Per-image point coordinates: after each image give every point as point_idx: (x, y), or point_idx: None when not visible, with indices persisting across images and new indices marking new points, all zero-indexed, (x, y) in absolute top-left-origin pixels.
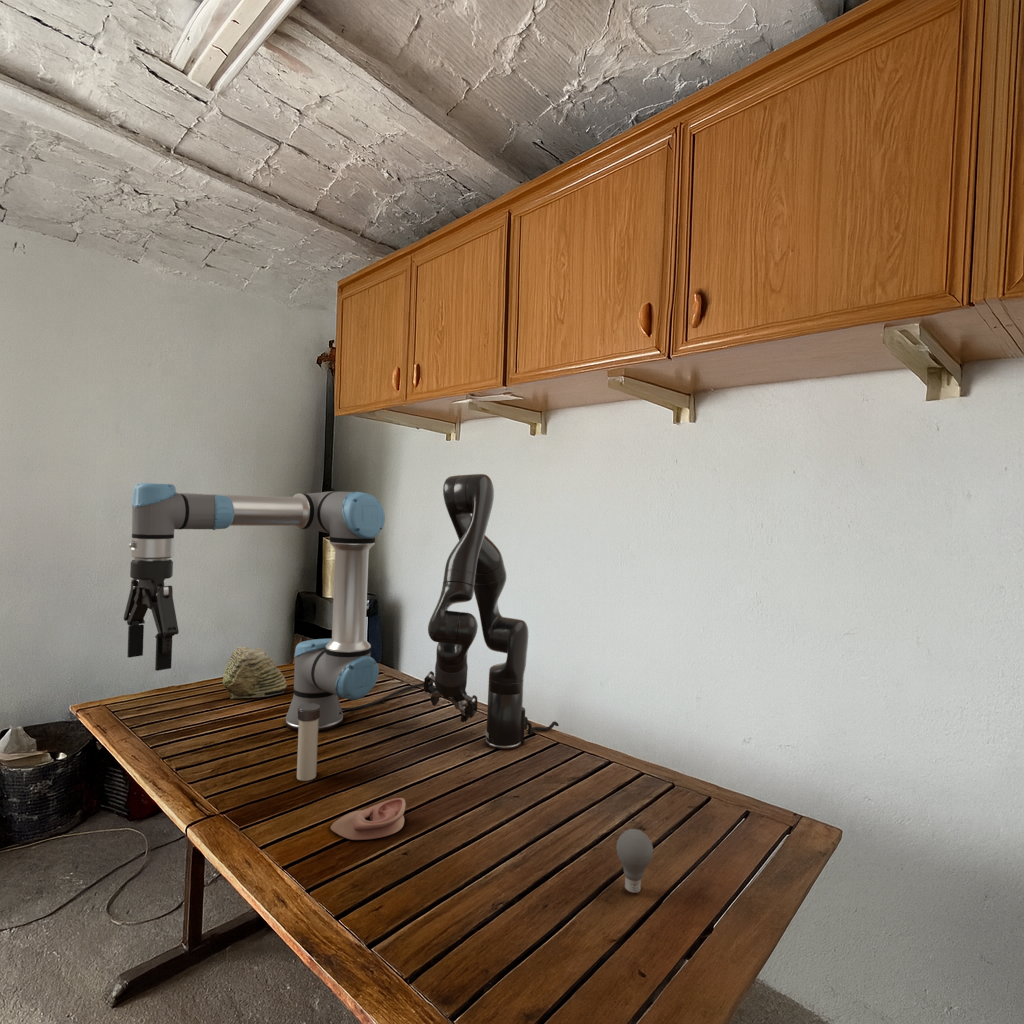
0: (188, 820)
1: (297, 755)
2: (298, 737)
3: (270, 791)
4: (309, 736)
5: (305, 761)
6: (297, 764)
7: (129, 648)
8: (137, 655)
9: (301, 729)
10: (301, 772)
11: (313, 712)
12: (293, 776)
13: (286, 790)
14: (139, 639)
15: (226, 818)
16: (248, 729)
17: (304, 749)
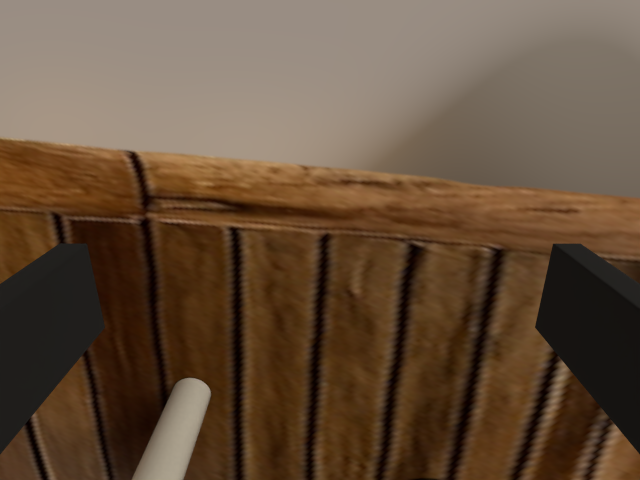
0: (154, 161)
1: (184, 413)
2: (168, 446)
3: (176, 322)
4: (140, 460)
5: (163, 411)
6: (187, 398)
7: (592, 276)
8: (545, 299)
9: (148, 465)
10: (177, 390)
11: None
12: (210, 379)
13: (160, 343)
14: (618, 388)
15: (116, 216)
16: (498, 430)
17: (156, 429)
